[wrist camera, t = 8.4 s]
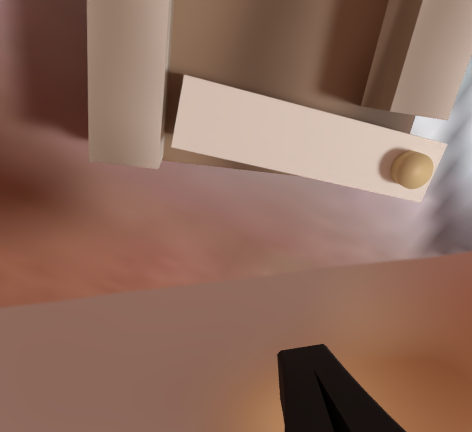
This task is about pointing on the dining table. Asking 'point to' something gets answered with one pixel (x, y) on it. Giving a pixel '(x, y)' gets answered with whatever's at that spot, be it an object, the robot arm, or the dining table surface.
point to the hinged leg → (302, 140)
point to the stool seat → (267, 64)
